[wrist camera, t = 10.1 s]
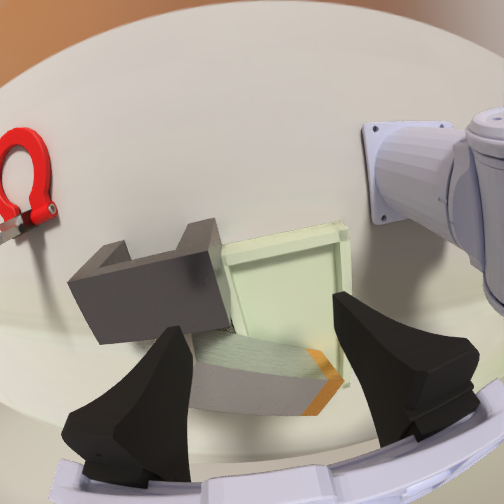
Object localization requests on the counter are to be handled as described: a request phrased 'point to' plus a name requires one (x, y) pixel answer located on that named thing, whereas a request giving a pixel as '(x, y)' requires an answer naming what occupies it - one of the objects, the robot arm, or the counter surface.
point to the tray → (291, 288)
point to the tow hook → (39, 194)
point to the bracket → (155, 289)
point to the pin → (258, 376)
